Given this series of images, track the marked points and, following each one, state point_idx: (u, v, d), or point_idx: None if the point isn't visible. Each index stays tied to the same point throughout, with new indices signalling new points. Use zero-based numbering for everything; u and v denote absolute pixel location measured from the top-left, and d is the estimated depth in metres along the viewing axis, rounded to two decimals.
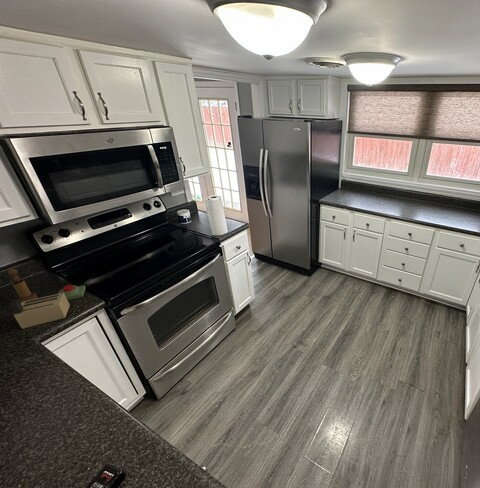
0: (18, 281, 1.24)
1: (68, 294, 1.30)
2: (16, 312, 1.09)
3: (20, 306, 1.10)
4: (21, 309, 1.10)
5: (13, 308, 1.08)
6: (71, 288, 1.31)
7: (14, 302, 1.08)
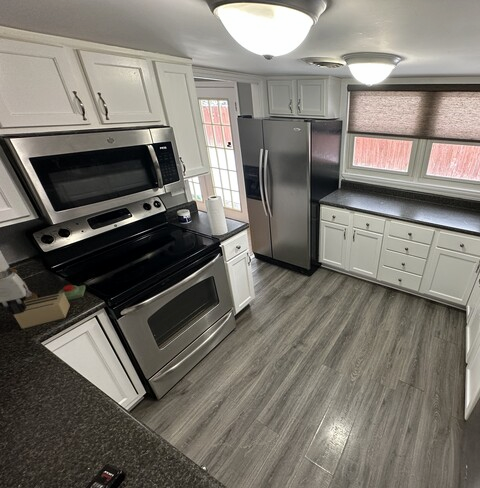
0: None
1: (68, 294, 1.30)
2: (16, 312, 1.09)
3: None
4: None
5: (13, 308, 1.08)
6: (71, 288, 1.31)
7: (14, 302, 1.08)
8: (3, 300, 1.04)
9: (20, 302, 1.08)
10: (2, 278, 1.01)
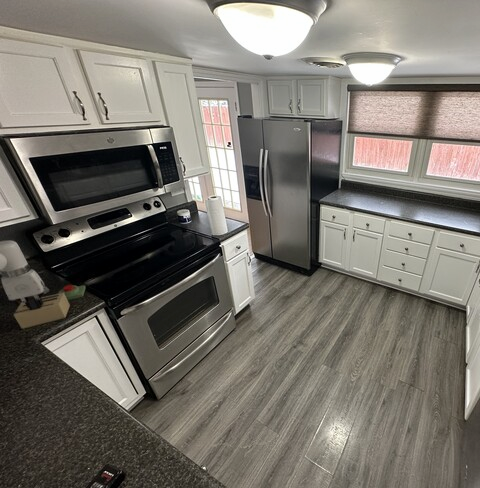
0: None
1: (68, 294, 1.30)
2: (34, 308, 1.11)
3: None
4: None
5: (31, 304, 1.10)
6: (71, 288, 1.31)
7: (32, 298, 1.11)
8: (22, 296, 1.07)
9: (37, 298, 1.11)
10: (21, 274, 1.04)
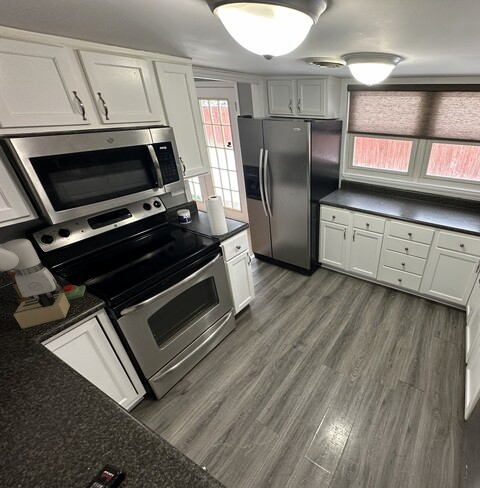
0: None
1: (68, 294, 1.30)
2: (46, 305, 1.13)
3: None
4: None
5: (43, 301, 1.12)
6: (71, 288, 1.31)
7: (44, 295, 1.12)
8: (35, 293, 1.09)
9: (50, 296, 1.13)
10: (34, 272, 1.06)
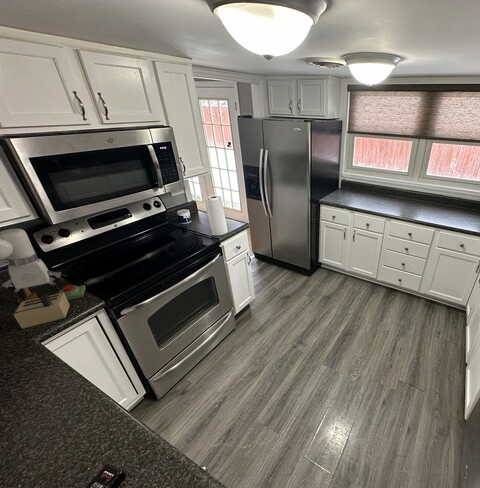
0: None
1: (68, 294, 1.30)
2: (45, 305, 1.13)
3: (49, 300, 1.14)
4: (49, 302, 1.15)
5: (42, 301, 1.12)
6: (71, 288, 1.31)
7: (43, 296, 1.12)
8: (28, 285, 1.06)
9: (54, 283, 1.12)
10: (28, 263, 1.04)
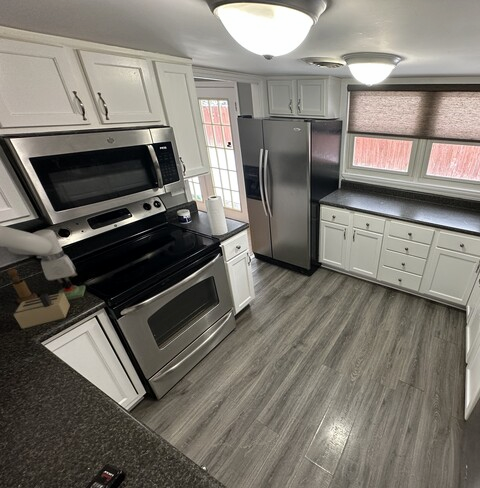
0: (18, 281, 1.24)
1: (68, 294, 1.30)
2: (45, 305, 1.13)
3: (49, 300, 1.14)
4: (49, 302, 1.15)
5: (42, 301, 1.12)
6: (71, 289, 1.32)
7: (43, 296, 1.12)
8: (57, 277, 1.25)
9: (67, 280, 1.29)
10: (57, 258, 1.23)
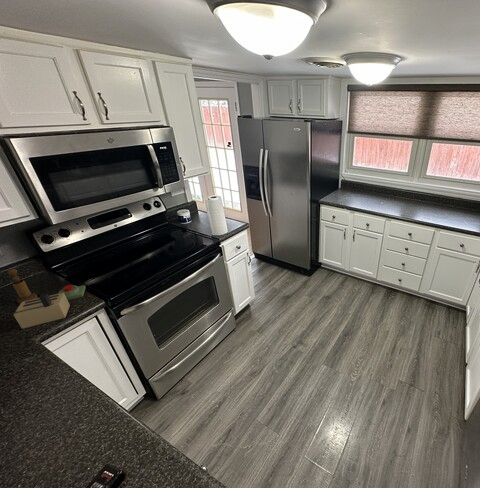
0: (18, 281, 1.24)
1: (68, 294, 1.30)
2: (45, 305, 1.13)
3: (49, 300, 1.14)
4: (49, 302, 1.15)
5: (42, 301, 1.12)
6: (71, 288, 1.31)
7: (43, 296, 1.12)
8: None
9: None
10: None
